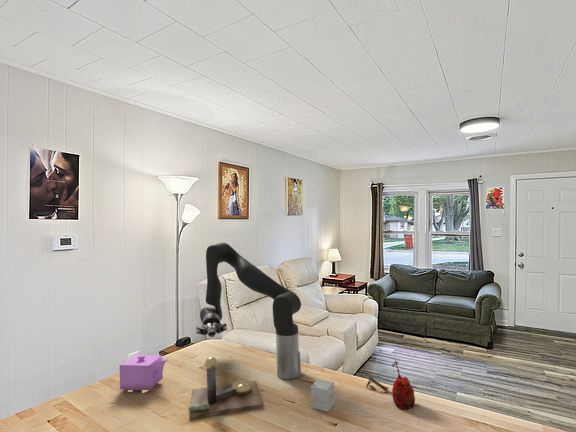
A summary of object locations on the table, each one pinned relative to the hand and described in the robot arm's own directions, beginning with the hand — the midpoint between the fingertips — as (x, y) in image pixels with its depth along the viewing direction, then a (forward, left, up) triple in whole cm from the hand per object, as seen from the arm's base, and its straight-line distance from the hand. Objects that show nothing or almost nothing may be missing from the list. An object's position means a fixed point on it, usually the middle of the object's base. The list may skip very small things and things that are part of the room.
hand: (212, 334), depth 135 cm
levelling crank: (-6, +13, -18) cm, 23 cm away
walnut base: (-4, +13, -20) cm, 24 cm away
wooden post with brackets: (-59, +21, -20) cm, 66 cm away
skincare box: (-36, +26, -20) cm, 49 cm away
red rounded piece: (-62, +33, -20) cm, 73 cm away
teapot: (+26, -6, -20) cm, 33 cm away
